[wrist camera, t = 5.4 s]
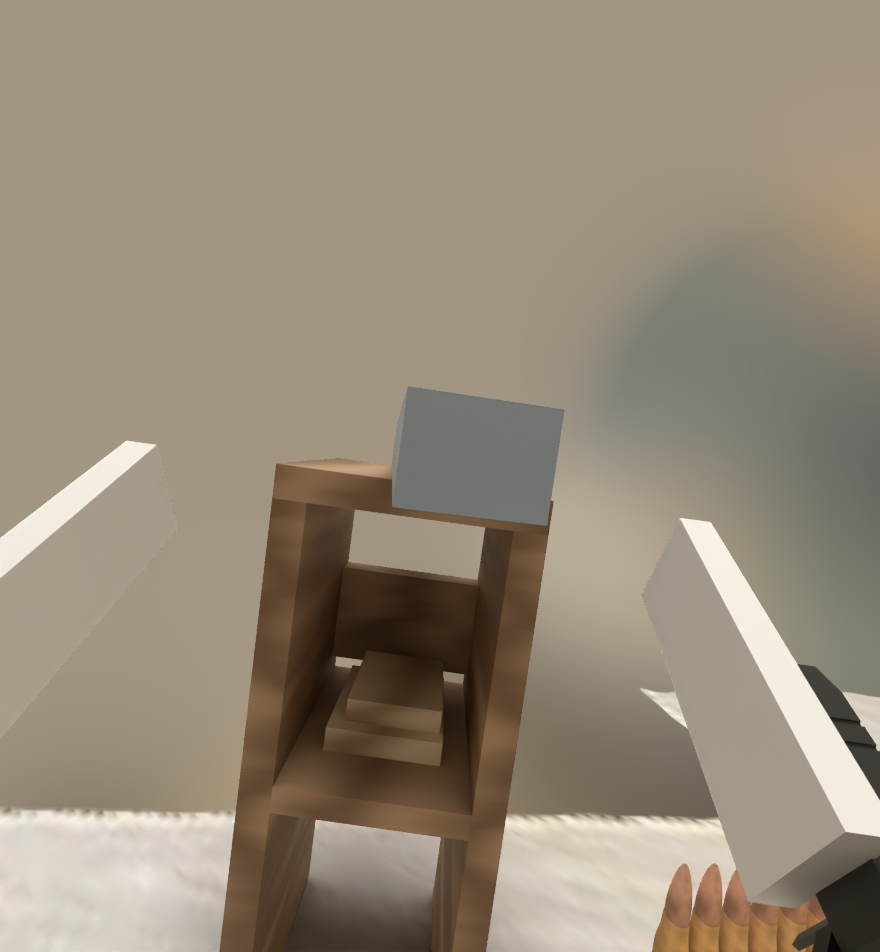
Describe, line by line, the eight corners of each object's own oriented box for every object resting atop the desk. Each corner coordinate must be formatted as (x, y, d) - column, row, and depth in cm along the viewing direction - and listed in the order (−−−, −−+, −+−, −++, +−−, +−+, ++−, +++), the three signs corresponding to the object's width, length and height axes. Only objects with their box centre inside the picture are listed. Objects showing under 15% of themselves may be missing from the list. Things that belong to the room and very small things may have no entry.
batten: (392, 507, 12) (408, 386, 12) (392, 463, 36) (397, 423, 36) (546, 526, 12) (564, 409, 12) (444, 470, 36) (450, 430, 36)
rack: (202, 1101, 22) (282, 407, 20) (287, 873, 34) (343, 423, 32) (457, 1138, 22) (562, 445, 20) (453, 897, 34) (519, 447, 32)
